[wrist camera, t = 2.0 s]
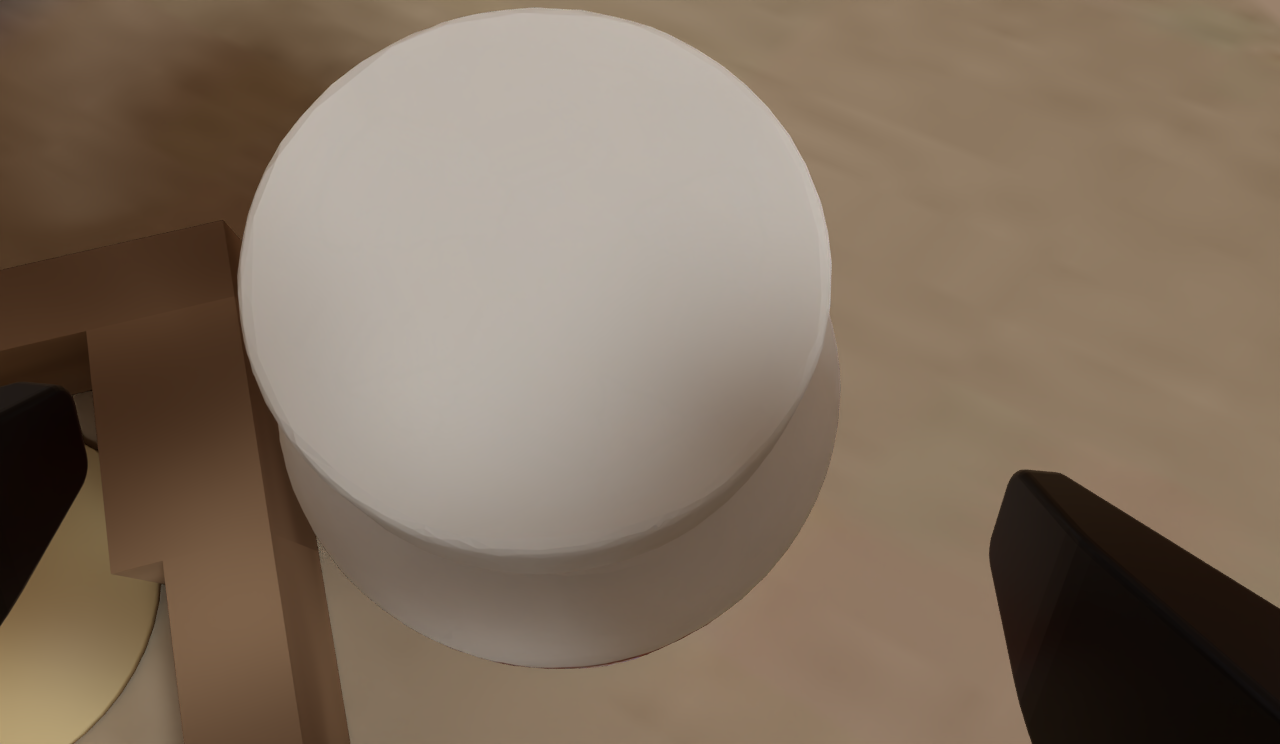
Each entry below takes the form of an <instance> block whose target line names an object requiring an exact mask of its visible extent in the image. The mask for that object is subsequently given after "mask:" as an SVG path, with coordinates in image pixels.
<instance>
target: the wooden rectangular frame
mask: <svg viewBox="0 0 1280 744" xmlns="http://www.w3.org/2000/svg"><path fill="white" fill-rule="evenodd" d="M241 245H242V241H241V240H240V239H239V238H238V237H237V235H236V234H235V233H234V232H233V231H232V230H231V229H230V228H229V226H228V225H227V224H226V223H225V222H224V221H223V220H221V221H216V222H212V223H207V224H203V225H198V226H194V227H190V228H185V229H181V230H176V231H172V232H167V233H163V234H158V235H154V236H150V237H145V238H141V239H136V240H132V241H127V242H123V243H118V244H114V245H110V246H105V247H101V248H96V249H92V250H87V251H83V252H78V253H74V254H70V255H65V256H61V257H56V258H52V259H47V260H43V261H38V262H34V263H30V264H25V265H21V266H16V267H12V268H7V269H3V270H0V387H2V386H5V385H8V384H12V383H16V382H34V383H45V384H55V385H60V386H62V387H64V388H65V389H67V390H68V391H69V392H70V394H71V395H73V394H77V393H81V392H86V391H90V390H92V393H93V403H94V413H95V422H96V432H97V442H98V451H96V450H94V449H93V448H91V447H89V446H87V445H85V449H86V453H87V458H88V470H87V475H86V479H85V482H84V484H83V486H82V488H81V490H80V492H79V493H78V495H77V497H76V499H75V500H74V502H73V504H72V506H71V507H70V509H69V511H68V513H67V514H66V516H65V518H64V520H63V521H62V523H61V525H60V527H59V528H58V530H57V532H56V534H55V535H54V537H53V539H52V541H51V542H50V544H49V546H48V548H47V549H46V551H45V553H44V555H43V556H42V558H41V560H40V562H39V564H38V565H37V567H36V569H35V571H34V572H33V574H32V576H31V578H30V579H29V581H28V583H27V585H26V586H25V588H24V590H23V592H22V593H21V595H20V596H19V598H18V600H17V601H16V603H15V605H14V606H13V608H12V610H11V611H10V613H9V615H8V616H7V617H6V619H5V620H4V622H3V623H2V625H1V626H0V744H73V743H75V742H76V741H77V740H78V739H80V738H81V737H82V736H83V735H84V734H86V733H87V732H88V731H89V730H90V729H91V728H92V727H93V726H94V725H95V724H96V723H97V722H98V721H99V720H100V719H101V718H102V717H103V716H104V714H105V713H106V712H107V711H108V709H109V708H110V707H111V706H112V704H113V703H114V702H115V701H116V699H117V698H118V697H119V696H120V694H121V693H122V691H123V690H124V688H125V687H126V685H127V683H128V682H129V680H130V679H131V677H132V675H133V674H134V672H135V670H136V668H137V666H138V664H139V662H140V660H141V658H142V656H143V654H144V652H145V650H146V647H147V644H148V642H149V639H150V636H151V633H152V630H153V627H154V624H155V619H156V615H157V610H158V605H159V600H160V589H161V584H165V586H166V595H167V603H168V612H169V620H170V629H171V637H172V646H173V654H174V663H175V671H176V680H177V688H178V697H179V705H180V714H181V722H182V731H183V739H184V744H350V739H349V733H348V727H347V721H346V715H345V709H344V703H343V697H342V691H341V685H340V679H339V673H338V667H337V660H336V654H335V648H334V642H333V636H332V630H331V624H330V618H329V612H328V606H327V600H326V594H325V588H324V582H323V576H322V570H321V564H320V558H319V552H318V546H317V540H316V535H315V533H314V531H313V529H312V527H311V525H310V523H309V521H308V519H307V518H306V516H305V514H304V512H303V510H302V508H301V506H300V503H299V501H298V499H297V497H296V495H295V493H294V490H293V488H292V485H291V482H290V478H289V475H288V472H287V469H286V465H285V461H284V456H283V452H282V448H281V444H280V436H279V427H278V423H277V421H276V419H275V418H274V416H273V414H272V413H271V411H270V410H269V408H268V406H267V405H266V403H265V401H264V398H263V396H262V393H261V391H260V389H259V386H258V384H257V381H256V379H255V376H254V375H253V372H252V368H251V364H250V361H249V358H248V355H247V352H246V348H245V344H244V339H243V333H242V328H241V322H240V311H239V300H238V280H237V275H238V267H239V259H240V251H241Z"/></svg>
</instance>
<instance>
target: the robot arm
mask: <svg viewBox="0 0 1280 744" xmlns="http://www.w3.org/2000/svg"><path fill="white" fill-rule="evenodd" d="M87 470H88V458H87V453H86V449H85V444H84V440H83V436H82V432H81V428H80V423H79V419H78V415H77V411H76V407H75V403H74V400H73V397H72V395H71V394H70V392H69V391H68V390H67V389H65V388H64V387H62V386H60V385H55V384H45V383H34V382H16V383H12V384H8V385H5V386H2V387H0V626H1V625H2V623H3V622H4V620H5V619H6V617H7V616H8V615H9V613H10V611H11V610H12V608H13V606H14V605H15V603H16V601H17V600H18V598H19V596H20V595H21V593H22V592H23V590H24V588H25V586H26V585H27V583H28V581H29V579H30V578H31V576H32V574H33V572H34V571H35V569H36V567H37V565H38V564H39V562H40V560H41V558H42V556H43V555H44V553H45V551H46V549H47V548H48V546H49V544H50V542H51V541H52V539H53V537H54V535H55V534H56V532H57V530H58V528H59V527H60V525H61V523H62V521H63V520H64V518H65V516H66V514H67V513H68V511H69V509H70V507H71V506H72V504H73V502H74V500H75V499H76V497H77V495H78V493H79V492H80V490H81V488H82V486H83V484H84V482H85V479H86V475H87ZM989 559H990V567H991V572H992V577H993V581H994V586H995V591H996V596H997V601H998V606H999V611H1000V615H1001V620H1002V625H1003V630H1004V635H1005V640H1006V645H1007V649H1008V654H1009V659H1010V664H1011V669H1012V674H1013V679H1014V683H1015V687H1016V691H1017V696H1018V700H1019V704H1020V707H1021V711H1022V714H1023V717H1024V721H1025V724H1026V727H1027V730H1028V733H1029V736H1030V739H1031V742H1032V744H1280V609H1279V608H1278V607H1276V606H1275V605H1273V604H1271V603H1270V602H1268V601H1267V600H1265V599H1263V598H1262V597H1260V596H1258V595H1257V594H1255V593H1254V592H1252V591H1250V590H1249V589H1247V588H1246V587H1244V586H1242V585H1241V584H1239V583H1238V582H1236V581H1234V580H1233V579H1231V578H1229V577H1228V576H1226V575H1225V574H1223V573H1221V572H1220V571H1218V570H1217V569H1215V568H1213V567H1212V566H1210V565H1209V564H1207V563H1205V562H1204V561H1202V560H1200V559H1199V558H1197V557H1196V556H1194V555H1192V554H1191V553H1189V552H1188V551H1186V550H1184V549H1183V548H1181V547H1180V546H1178V545H1176V544H1175V543H1173V542H1171V541H1170V540H1168V539H1167V538H1165V537H1163V536H1162V535H1160V534H1159V533H1157V532H1155V531H1154V530H1152V529H1151V528H1149V527H1147V526H1146V525H1144V524H1142V523H1141V522H1139V521H1138V520H1136V519H1134V518H1133V517H1131V516H1130V515H1128V514H1126V513H1125V512H1123V511H1122V510H1120V509H1118V508H1117V507H1115V506H1113V505H1112V504H1110V503H1109V502H1107V501H1105V500H1104V499H1102V498H1101V497H1099V496H1097V495H1096V494H1094V493H1093V492H1091V491H1089V490H1088V489H1086V488H1084V487H1083V486H1081V485H1080V484H1078V483H1076V482H1075V481H1073V480H1072V479H1070V478H1068V477H1067V476H1065V475H1063V474H1061V473H1057V472H1047V471H1036V470H1019V471H1017V472H1016V473H1015V474H1013V476H1012V477H1011V479H1010V481H1009V483H1008V485H1007V488H1006V492H1005V495H1004V498H1003V501H1002V505H1001V508H1000V511H999V514H998V517H997V521H996V524H995V527H994V530H993V534H992V537H991V541H990V548H989Z"/></svg>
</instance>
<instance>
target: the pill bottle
mask: <svg viewBox="0 0 1280 744" xmlns="http://www.w3.org/2000/svg"><path fill="white" fill-rule="evenodd" d="M831 268H832V263H831V254H830V246H829V237H828V230H827V226H826V222H825V218H824V213H823V209H822V205H821V202H820V199H819V196H818V194H817V191H816V189H815V186H814V184H813V181H812V178H811V176H810V173H809V171H808V168H807V166H806V164H805V162H804V160H803V158H802V157H801V155H800V153H799V151H798V149H797V148H796V146H795V144H794V142H793V140H792V138H791V137H790V135H789V134H788V132H787V131H786V130H785V128H784V127H783V126H782V125H781V123H780V122H779V121H778V119H777V118H776V117H775V116H774V114H773V113H772V112H771V111H770V109H769V108H768V107H767V106H766V105H765V104H764V103H763V102H762V101H761V100H760V99H759V98H758V97H757V96H756V95H755V94H754V93H753V91H752V90H751V89H750V88H749V87H748V86H747V85H746V84H745V83H743V82H742V81H741V80H740V79H738V78H737V77H736V76H735V75H733V74H732V73H731V72H730V71H728V70H727V69H726V68H725V67H723V66H722V65H721V64H719V63H718V62H716V61H715V60H713V59H712V58H710V57H708V56H707V55H705V54H704V53H702V52H701V51H699V50H697V49H696V48H694V47H692V46H690V45H688V44H687V43H685V42H683V41H681V40H679V39H677V38H675V37H673V36H671V35H669V34H667V33H665V32H662V31H660V30H657V29H655V28H653V27H650V26H646V25H643V24H640V23H637V22H633V21H630V20H626V19H622V18H618V17H613V16H609V15H604V14H599V13H594V12H589V11H584V10H570V9H551V8H535V7H534V8H522V9H511V10H500V11H490V12H485V13H479V14H474V15H469V16H464V17H459V18H456V19H454V20H450V21H446V22H442V23H439V24H437V25H435V26H433V27H430V28H427V29H424V30H421V31H418V32H415V33H413V34H411V35H409V36H407V37H405V38H403V39H401V40H399V41H397V42H395V43H393V44H391V45H389V46H388V47H386V48H384V49H382V50H381V51H379V52H377V53H375V54H374V55H372V56H370V57H369V58H367V59H365V60H364V61H362V62H361V63H359V64H358V65H356V66H355V67H353V68H352V69H351V70H350V71H348V72H347V73H346V74H344V75H343V76H342V77H340V78H339V79H338V80H337V81H335V82H334V83H333V84H332V85H331V86H330V87H329V88H328V89H327V90H326V91H325V92H324V93H323V94H322V95H321V96H320V97H319V98H318V99H317V100H316V101H315V102H314V103H313V104H312V105H311V106H310V107H309V108H308V109H307V110H306V112H305V113H304V114H303V115H302V116H301V117H300V118H299V119H298V120H297V122H296V123H295V124H294V126H293V127H292V128H291V130H290V131H289V132H288V134H287V135H286V136H285V138H284V139H283V140H282V142H281V143H280V144H279V146H278V148H277V150H276V152H275V154H274V156H273V157H272V159H271V161H270V162H269V164H268V165H267V167H266V169H265V171H264V174H263V176H262V178H261V181H260V183H259V185H258V187H257V190H256V193H255V195H254V198H253V201H252V204H251V207H250V210H249V212H248V216H247V221H246V225H245V230H244V234H243V239H242V245H241V251H240V259H239V267H238V275H237V280H238V300H239V311H240V322H241V328H242V333H243V339H244V344H245V348H246V352H247V355H248V358H249V361H250V364H251V368H252V372H253V375H254V376H255V379H256V381H257V384H258V386H259V389H260V391H261V393H262V396H263V398H264V401H265V403H266V405H267V406H268V408H269V410H270V411H271V413H272V414H273V416H274V418H275V419H276V421H277V423H278V427H279V436H280V444H281V448H282V452H283V456H284V461H285V465H286V469H287V472H288V475H289V478H290V482H291V485H292V488H293V490H294V493H295V495H296V497H297V499H298V501H299V503H300V506H301V508H302V510H303V512H304V514H305V516H306V518H307V519H308V521H309V523H310V525H311V527H312V529H313V531H314V533H315V535H316V536H317V538H318V539H319V541H320V542H321V544H322V545H323V547H324V548H325V550H326V551H327V552H328V554H329V555H330V556H331V558H332V559H333V561H334V562H335V563H336V564H337V566H338V567H339V568H340V569H341V571H342V572H343V573H344V574H345V575H346V576H347V577H348V578H349V579H350V580H351V581H352V582H353V583H354V584H355V585H356V586H357V587H358V589H359V590H360V591H361V592H362V593H364V594H365V595H366V596H367V597H368V598H370V599H371V600H372V601H373V602H375V603H376V604H377V605H378V606H379V607H381V608H382V609H383V610H384V611H386V612H387V613H389V614H390V615H392V616H393V617H395V618H396V619H397V620H399V621H400V622H402V623H403V624H405V625H406V626H408V627H410V628H412V629H413V630H415V631H417V632H419V633H420V634H422V635H424V636H426V637H428V638H430V639H432V640H435V641H437V642H439V643H441V644H443V645H445V646H448V647H450V648H452V649H455V650H458V651H461V652H464V653H467V654H470V655H473V656H476V657H479V658H482V659H486V660H490V661H493V662H497V663H503V664H508V665H513V666H523V667H534V668H547V669H571V668H594V667H603V666H608V665H613V664H617V663H622V662H626V661H629V660H633V659H636V658H638V657H641V656H644V655H647V654H649V653H651V652H654V651H656V650H659V649H661V648H663V647H665V646H667V645H669V644H671V643H674V642H676V641H678V640H680V639H682V638H684V637H686V636H688V635H689V634H691V633H693V632H695V631H697V630H698V629H700V628H702V627H704V626H706V625H707V624H709V623H710V622H712V621H713V620H714V619H716V618H717V617H719V616H720V615H721V614H723V613H724V612H726V611H727V610H728V609H730V608H731V607H732V606H733V605H735V604H736V603H737V602H739V601H740V600H741V599H742V598H743V597H744V596H745V595H746V594H748V593H749V592H750V591H751V590H752V589H753V588H754V587H755V586H756V585H757V584H758V583H759V582H760V581H761V580H762V579H763V578H764V577H765V576H766V575H767V574H768V573H769V572H770V571H771V569H772V568H773V567H774V566H775V564H776V563H777V562H778V561H779V560H780V558H781V557H782V556H783V555H784V553H785V552H786V551H787V550H788V548H789V547H790V545H791V544H792V542H793V541H794V539H795V538H796V536H797V535H798V533H799V532H800V530H801V528H802V526H803V525H804V523H805V521H806V519H807V518H808V516H809V514H810V512H811V510H812V508H813V506H814V504H815V502H816V500H817V497H818V494H819V492H820V489H821V487H822V484H823V482H824V479H825V476H826V473H827V470H828V467H829V463H830V460H831V456H832V452H833V447H834V442H835V437H836V432H837V425H838V416H839V403H840V390H841V387H840V367H839V359H838V352H837V345H836V340H835V335H834V330H833V326H832V321H831V318H830V314H829V310H830V298H831Z"/></svg>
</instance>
